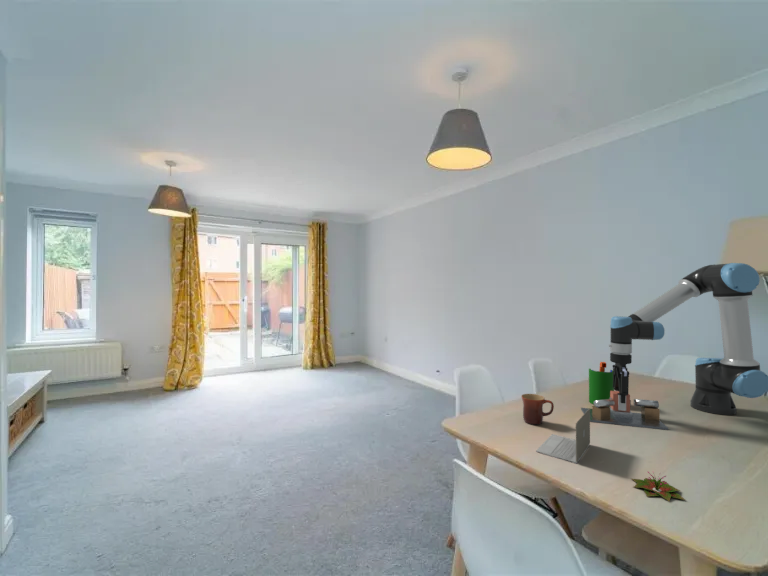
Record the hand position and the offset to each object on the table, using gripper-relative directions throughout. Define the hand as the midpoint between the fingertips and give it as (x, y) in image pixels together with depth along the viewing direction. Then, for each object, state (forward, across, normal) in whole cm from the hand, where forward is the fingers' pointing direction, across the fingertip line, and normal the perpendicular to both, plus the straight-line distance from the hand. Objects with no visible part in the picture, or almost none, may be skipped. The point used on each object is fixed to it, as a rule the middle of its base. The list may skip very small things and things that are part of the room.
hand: (620, 408), depth 150 cm
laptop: (+5, +40, -27) cm, 48 cm away
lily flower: (+4, +59, -7) cm, 60 cm away
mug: (+4, +18, -34) cm, 38 cm away
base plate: (+4, +3, 0) cm, 4 cm away
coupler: (0, 0, 0) cm, 1 cm away
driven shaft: (+3, +5, -7) cm, 9 cm away
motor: (+4, -17, -3) cm, 18 cm away
